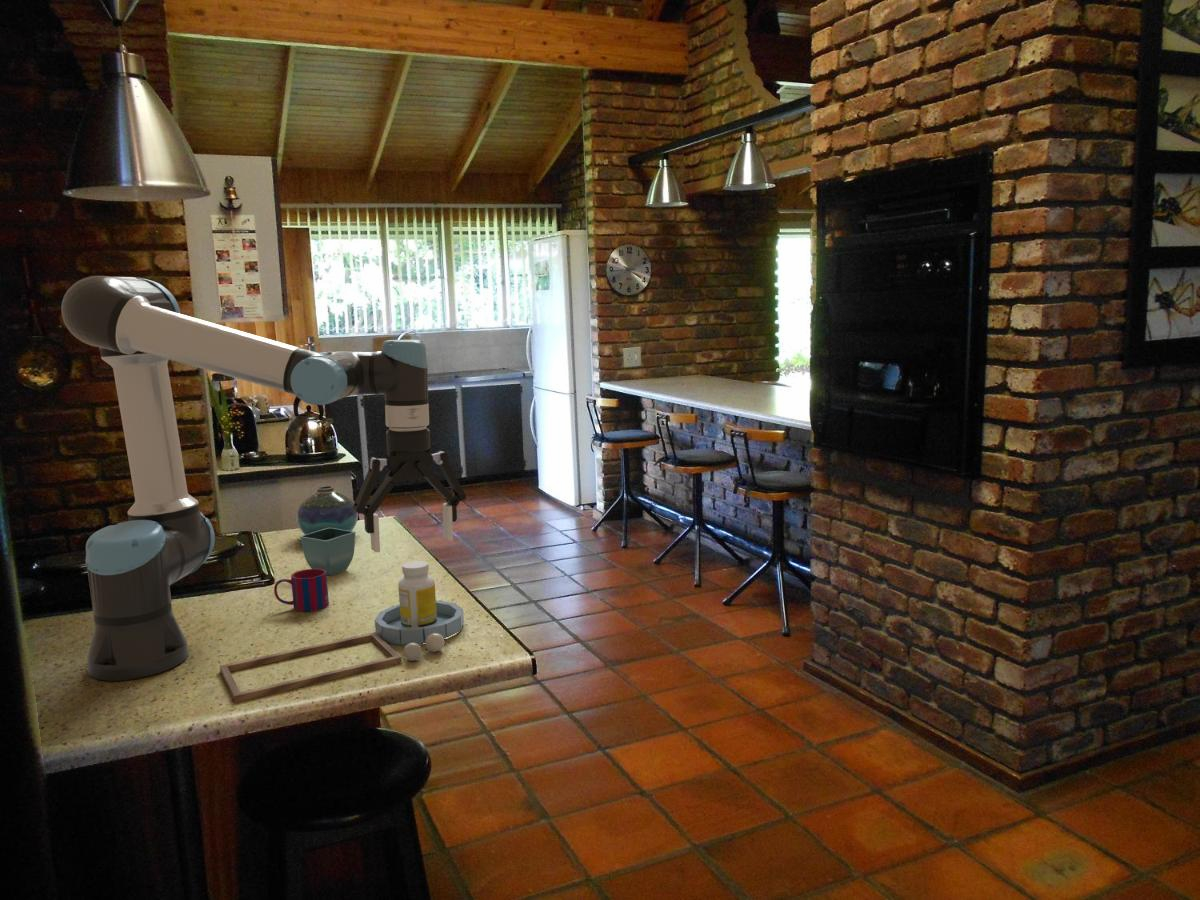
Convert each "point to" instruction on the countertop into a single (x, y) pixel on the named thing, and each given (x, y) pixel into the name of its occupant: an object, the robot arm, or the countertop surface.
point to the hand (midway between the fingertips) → (412, 545)
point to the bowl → (394, 633)
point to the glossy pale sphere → (412, 651)
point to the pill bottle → (417, 595)
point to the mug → (307, 590)
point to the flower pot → (329, 549)
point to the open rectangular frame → (308, 680)
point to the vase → (326, 511)
